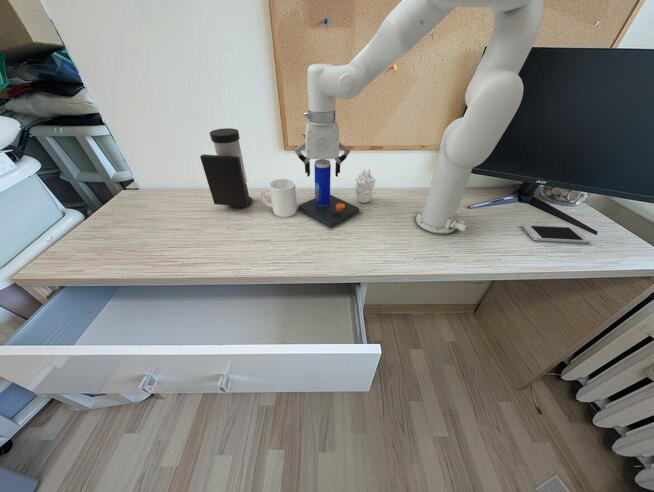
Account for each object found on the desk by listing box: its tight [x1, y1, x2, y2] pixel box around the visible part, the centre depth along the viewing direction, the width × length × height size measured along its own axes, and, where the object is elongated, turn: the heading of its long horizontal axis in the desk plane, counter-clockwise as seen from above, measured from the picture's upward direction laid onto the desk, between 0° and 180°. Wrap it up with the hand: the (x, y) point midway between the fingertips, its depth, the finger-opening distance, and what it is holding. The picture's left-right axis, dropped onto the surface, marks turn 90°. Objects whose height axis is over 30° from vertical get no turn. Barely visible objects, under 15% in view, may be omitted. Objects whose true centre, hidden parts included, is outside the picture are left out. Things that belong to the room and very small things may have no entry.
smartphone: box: [522, 224, 590, 244], centre depth 79 cm, size 7×15×1 cm, turn 85°
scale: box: [297, 194, 360, 229], centre depth 89 cm, size 16×14×4 cm
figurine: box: [354, 168, 376, 204], centre depth 92 cm, size 7×7×12 cm
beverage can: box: [313, 159, 332, 207], centre depth 86 cm, size 5×5×15 cm
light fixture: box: [199, 127, 253, 210], centre depth 85 cm, size 12×11×25 cm
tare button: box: [336, 203, 345, 211], centre depth 85 cm, size 3×3×2 cm
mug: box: [260, 178, 298, 218], centre depth 87 cm, size 12×8×10 cm
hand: (322, 174), depth 84 cm, fingers open, 8 cm apart
